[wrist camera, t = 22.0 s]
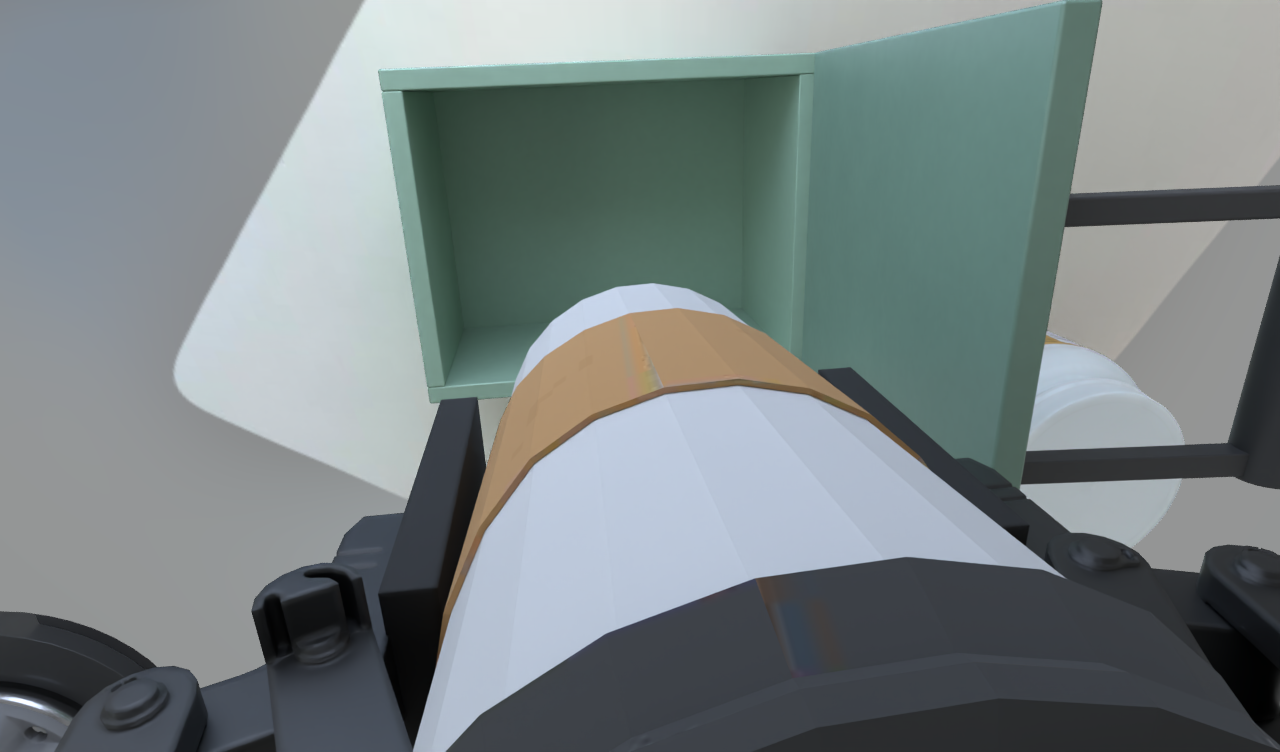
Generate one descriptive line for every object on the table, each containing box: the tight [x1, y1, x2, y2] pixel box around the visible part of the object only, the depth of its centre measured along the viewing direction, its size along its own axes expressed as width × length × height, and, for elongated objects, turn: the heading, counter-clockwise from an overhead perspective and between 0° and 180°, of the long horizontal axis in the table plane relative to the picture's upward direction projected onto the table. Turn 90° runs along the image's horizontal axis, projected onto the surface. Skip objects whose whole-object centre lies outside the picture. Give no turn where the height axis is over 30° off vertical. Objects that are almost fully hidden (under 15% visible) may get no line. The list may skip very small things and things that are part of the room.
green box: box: [378, 53, 815, 403], centre depth 41 cm, size 20×16×11 cm
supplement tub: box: [1020, 331, 1185, 548], centre depth 45 cm, size 12×12×17 cm
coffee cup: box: [413, 283, 1280, 752], centre depth 11 cm, size 8×8×15 cm
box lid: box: [802, 0, 1280, 490], centre depth 27 cm, size 21×16×10 cm
